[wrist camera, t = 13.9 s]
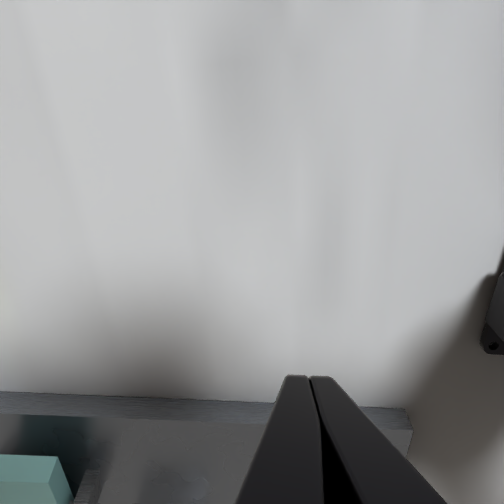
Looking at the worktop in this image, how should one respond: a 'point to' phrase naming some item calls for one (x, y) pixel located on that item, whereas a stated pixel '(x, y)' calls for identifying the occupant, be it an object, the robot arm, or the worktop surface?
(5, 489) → the block
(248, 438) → the panel
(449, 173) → the worktop surface
